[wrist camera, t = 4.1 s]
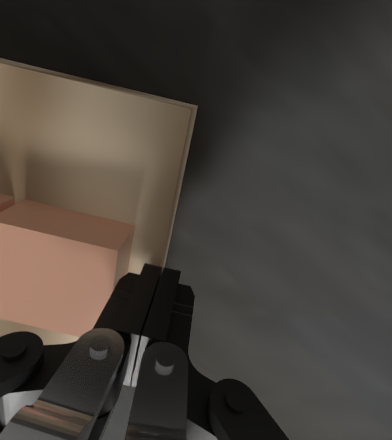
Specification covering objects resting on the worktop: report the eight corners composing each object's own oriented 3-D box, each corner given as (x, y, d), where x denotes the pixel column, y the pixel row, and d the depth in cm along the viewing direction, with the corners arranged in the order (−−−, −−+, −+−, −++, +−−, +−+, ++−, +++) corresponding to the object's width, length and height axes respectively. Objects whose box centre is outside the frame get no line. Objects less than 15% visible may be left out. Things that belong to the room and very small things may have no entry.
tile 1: (134, 225, 11) (118, 250, 9) (122, 308, 13) (106, 343, 11) (25, 199, 11) (-14, 219, 9) (28, 286, 13) (-3, 318, 11)
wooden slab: (198, 105, 12) (191, 109, 9) (150, 336, 18) (137, 380, 15) (-55, 44, 12) (-138, 29, 9) (-20, 297, 18) (-64, 335, 15)
